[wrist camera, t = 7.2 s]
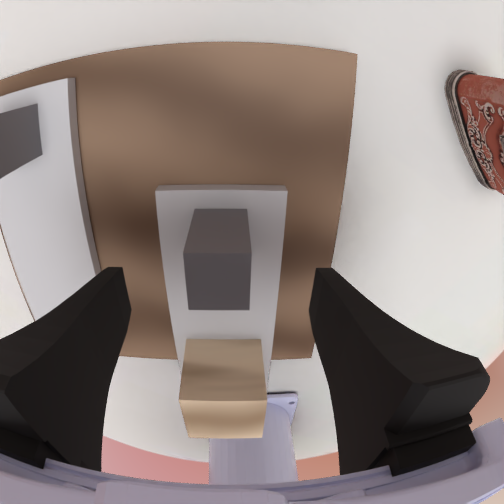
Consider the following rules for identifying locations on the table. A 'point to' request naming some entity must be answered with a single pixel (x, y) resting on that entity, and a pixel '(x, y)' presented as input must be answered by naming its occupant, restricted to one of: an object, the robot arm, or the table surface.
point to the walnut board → (209, 159)
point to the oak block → (223, 388)
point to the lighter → (479, 123)
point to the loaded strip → (260, 262)
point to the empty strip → (45, 194)
